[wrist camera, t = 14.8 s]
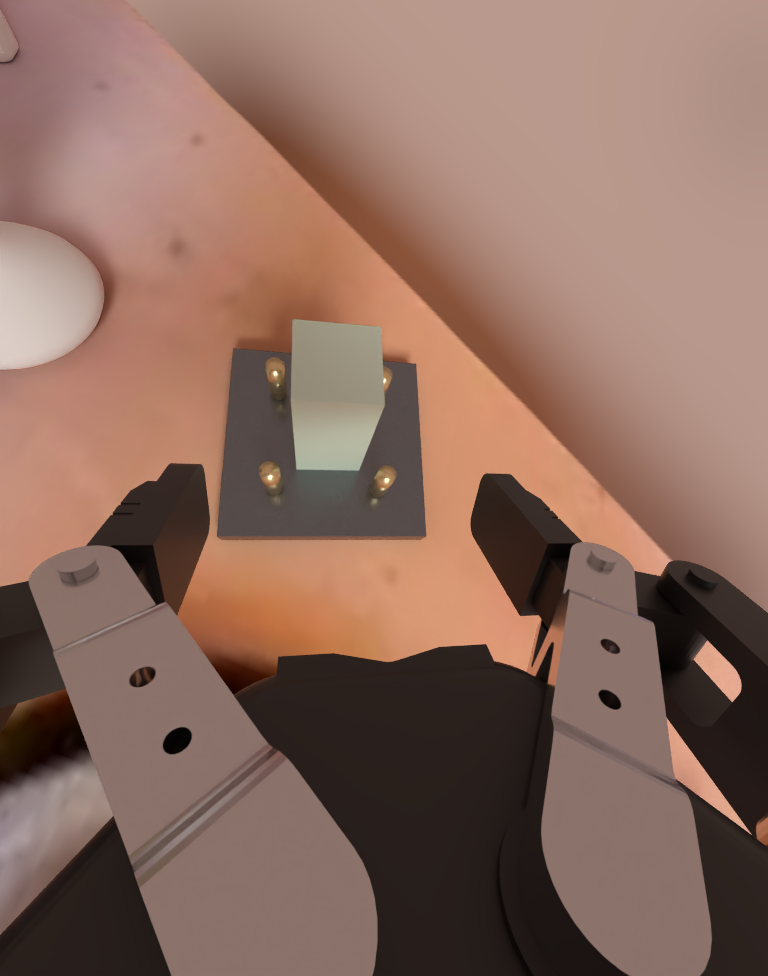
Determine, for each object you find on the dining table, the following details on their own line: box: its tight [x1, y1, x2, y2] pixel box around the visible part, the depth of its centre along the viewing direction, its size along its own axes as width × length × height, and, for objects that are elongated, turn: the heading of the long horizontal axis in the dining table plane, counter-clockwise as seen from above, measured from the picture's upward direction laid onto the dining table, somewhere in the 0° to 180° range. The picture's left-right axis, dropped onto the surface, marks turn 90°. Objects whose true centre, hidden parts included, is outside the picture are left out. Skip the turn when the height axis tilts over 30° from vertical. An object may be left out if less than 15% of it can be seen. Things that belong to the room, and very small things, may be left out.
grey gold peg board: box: [217, 348, 426, 540], centre depth 27 cm, size 14×14×5 cm
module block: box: [291, 319, 385, 471], centre depth 24 cm, size 4×4×10 cm
